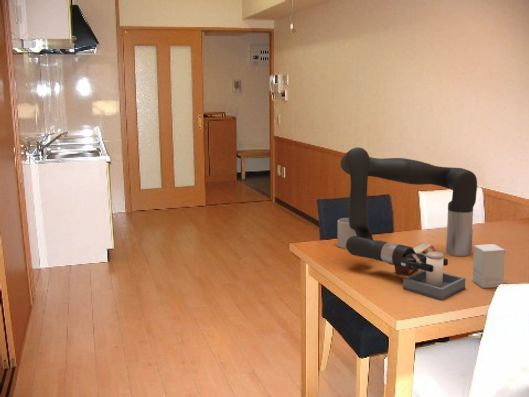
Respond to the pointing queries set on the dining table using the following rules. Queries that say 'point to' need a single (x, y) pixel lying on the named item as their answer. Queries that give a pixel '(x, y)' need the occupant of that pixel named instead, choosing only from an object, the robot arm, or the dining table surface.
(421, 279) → the tray
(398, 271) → the snack package
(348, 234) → the mug
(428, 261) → the canister
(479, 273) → the supplement box
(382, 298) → the dining table surface
